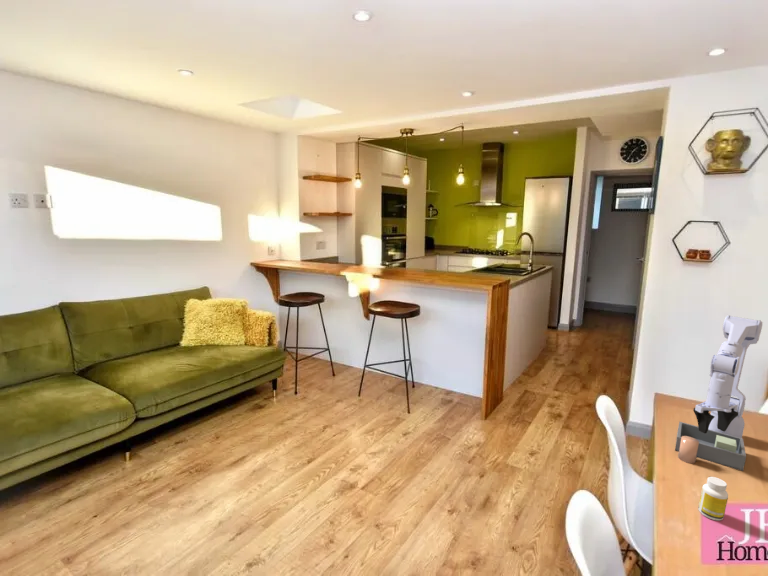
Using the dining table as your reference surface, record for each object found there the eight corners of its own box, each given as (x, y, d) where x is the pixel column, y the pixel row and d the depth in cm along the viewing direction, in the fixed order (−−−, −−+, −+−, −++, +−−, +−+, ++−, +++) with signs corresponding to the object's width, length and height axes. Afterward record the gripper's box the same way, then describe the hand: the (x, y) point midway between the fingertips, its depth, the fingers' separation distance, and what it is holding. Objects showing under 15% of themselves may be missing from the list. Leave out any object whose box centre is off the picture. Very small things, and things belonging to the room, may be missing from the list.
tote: (740, 452, 140) (743, 438, 139) (743, 471, 129) (746, 456, 128) (677, 434, 150) (679, 421, 149) (675, 450, 139) (677, 436, 138)
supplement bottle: (728, 523, 107) (735, 489, 105) (704, 519, 108) (711, 486, 106) (716, 508, 112) (722, 476, 110) (693, 505, 113) (699, 473, 111)
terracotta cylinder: (688, 455, 137) (691, 436, 136) (698, 463, 132) (702, 443, 131) (674, 454, 137) (678, 435, 135) (684, 463, 132) (688, 443, 131)
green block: (713, 448, 140) (716, 434, 139) (732, 453, 137) (735, 440, 136) (714, 454, 136) (717, 441, 135) (733, 460, 133) (736, 446, 132)
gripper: (713, 398, 126) (705, 439, 129) (750, 395, 129) (742, 435, 132) (692, 389, 133) (685, 427, 135) (727, 386, 136) (720, 424, 138)
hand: (711, 430), depth 134 cm, fingers open, 7 cm apart
